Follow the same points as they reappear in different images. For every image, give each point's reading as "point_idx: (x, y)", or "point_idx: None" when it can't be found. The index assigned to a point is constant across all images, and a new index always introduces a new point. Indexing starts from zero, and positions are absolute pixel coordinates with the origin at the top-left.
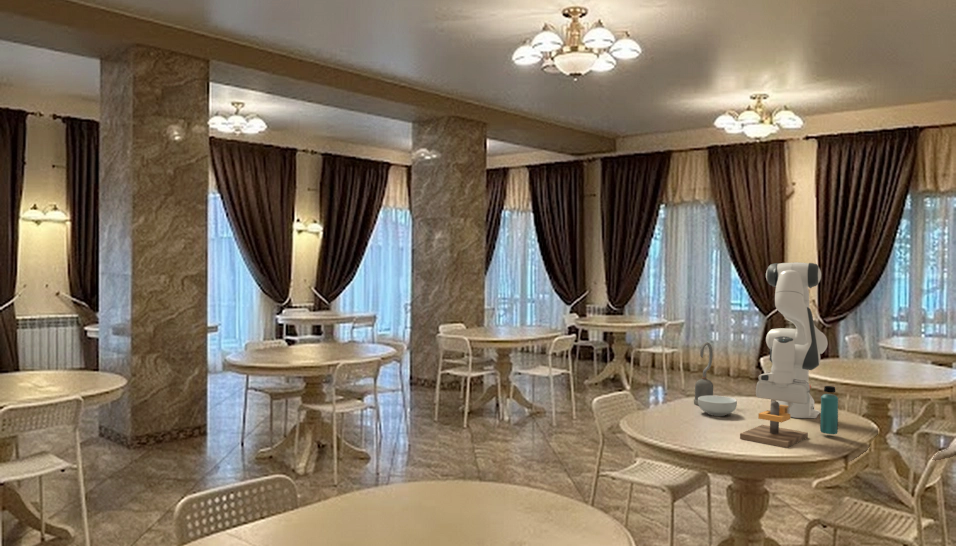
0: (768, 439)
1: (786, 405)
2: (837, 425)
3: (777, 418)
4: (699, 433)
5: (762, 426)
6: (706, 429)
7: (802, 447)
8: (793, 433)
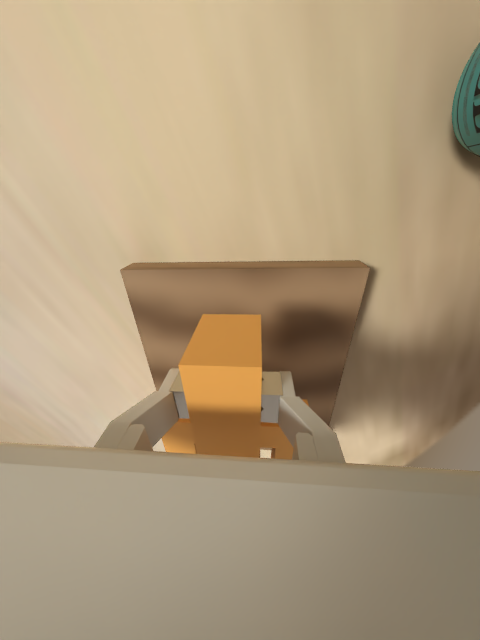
0: (261, 447)
1: (240, 367)
2: None
3: None
4: (83, 440)
5: (147, 309)
6: (49, 399)
7: (358, 411)
8: (308, 338)
